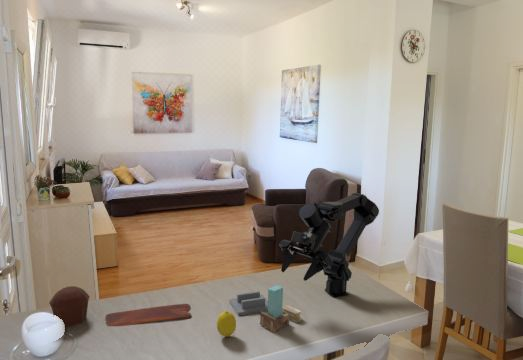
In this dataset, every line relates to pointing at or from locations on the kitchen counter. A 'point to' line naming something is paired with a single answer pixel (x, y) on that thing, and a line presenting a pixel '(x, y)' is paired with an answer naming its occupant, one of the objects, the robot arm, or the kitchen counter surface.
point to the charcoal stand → (249, 303)
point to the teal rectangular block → (275, 301)
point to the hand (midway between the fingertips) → (292, 275)
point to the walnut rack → (273, 321)
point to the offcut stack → (292, 313)
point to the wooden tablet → (148, 315)
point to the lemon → (226, 324)
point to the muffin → (70, 305)
